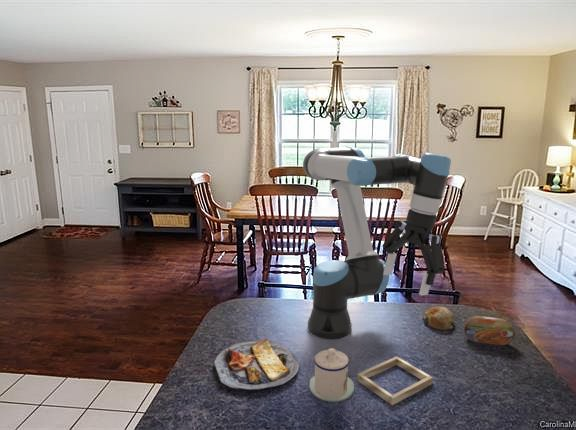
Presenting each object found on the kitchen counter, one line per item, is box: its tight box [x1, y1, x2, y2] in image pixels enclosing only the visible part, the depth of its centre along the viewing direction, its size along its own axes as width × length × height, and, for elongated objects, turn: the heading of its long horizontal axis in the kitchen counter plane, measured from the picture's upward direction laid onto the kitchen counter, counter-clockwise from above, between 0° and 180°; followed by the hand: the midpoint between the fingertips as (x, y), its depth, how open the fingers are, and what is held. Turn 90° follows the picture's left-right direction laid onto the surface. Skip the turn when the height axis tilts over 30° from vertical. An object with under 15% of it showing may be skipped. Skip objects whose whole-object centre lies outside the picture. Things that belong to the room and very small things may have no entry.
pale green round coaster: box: [309, 375, 355, 403], centre depth 118 cm, size 12×12×1 cm
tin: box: [463, 315, 516, 346], centre depth 141 cm, size 15×3×8 cm, turn 73°
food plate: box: [214, 338, 300, 390], centre depth 127 cm, size 25×23×4 cm
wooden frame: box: [356, 355, 434, 406], centre depth 120 cm, size 13×16×2 cm
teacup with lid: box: [313, 347, 350, 399], centre depth 116 cm, size 12×9×12 cm
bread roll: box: [422, 306, 455, 331], centre depth 154 cm, size 10×10×8 cm
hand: (404, 284), depth 122 cm, fingers open, 13 cm apart
